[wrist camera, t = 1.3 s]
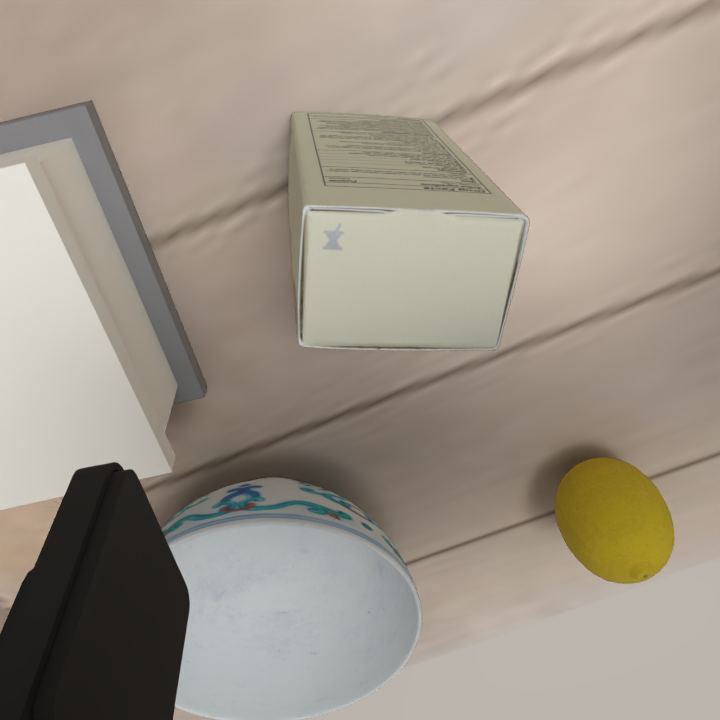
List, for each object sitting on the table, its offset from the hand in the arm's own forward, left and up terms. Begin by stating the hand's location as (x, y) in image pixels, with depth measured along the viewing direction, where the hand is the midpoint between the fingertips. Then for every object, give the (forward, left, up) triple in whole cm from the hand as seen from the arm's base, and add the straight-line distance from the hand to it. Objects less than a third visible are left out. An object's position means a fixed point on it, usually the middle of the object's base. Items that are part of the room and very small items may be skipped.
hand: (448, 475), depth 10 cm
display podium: (+17, +3, -21) cm, 27 cm away
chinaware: (+9, +20, -21) cm, 30 cm away
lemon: (-9, +21, -21) cm, 31 cm away
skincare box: (0, +1, -21) cm, 21 cm away
